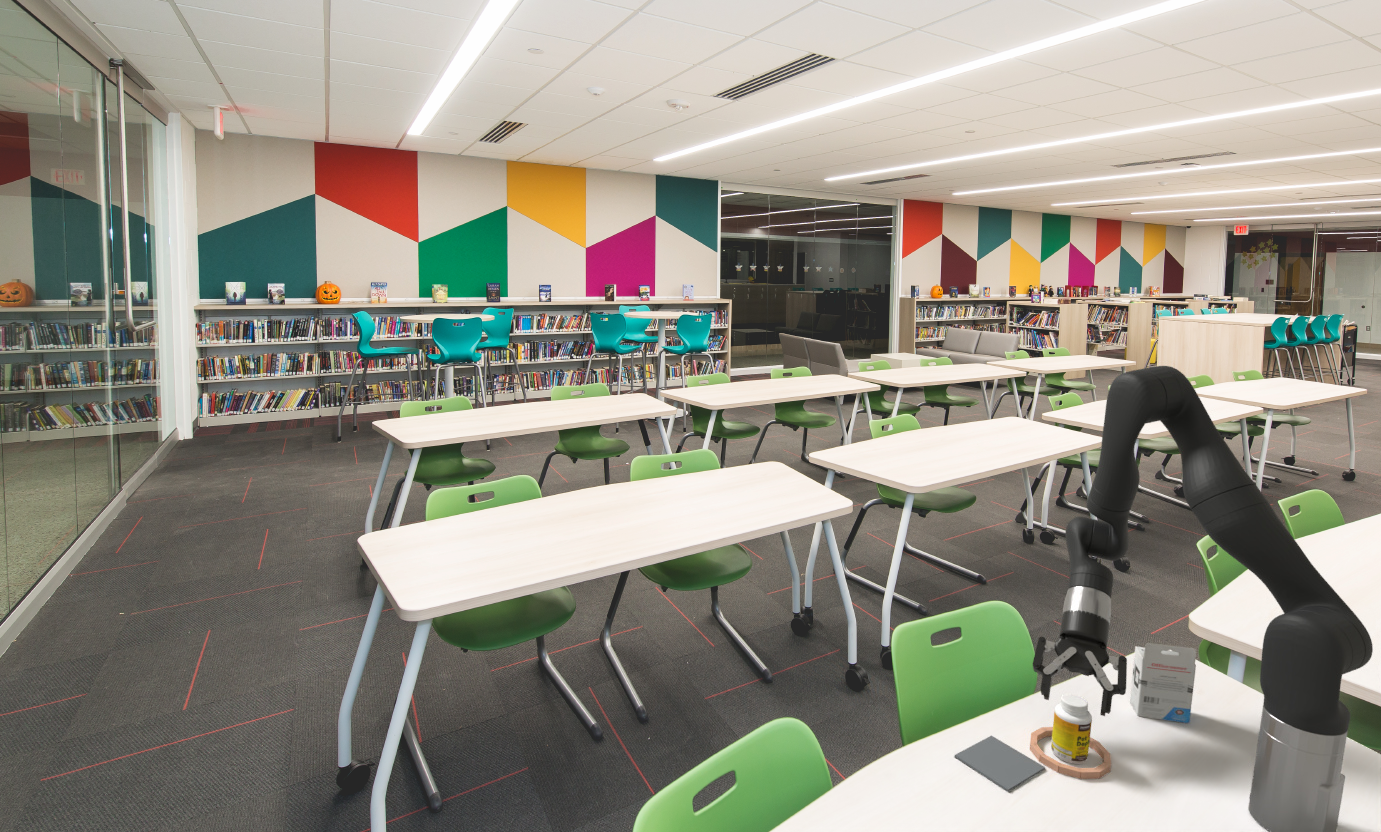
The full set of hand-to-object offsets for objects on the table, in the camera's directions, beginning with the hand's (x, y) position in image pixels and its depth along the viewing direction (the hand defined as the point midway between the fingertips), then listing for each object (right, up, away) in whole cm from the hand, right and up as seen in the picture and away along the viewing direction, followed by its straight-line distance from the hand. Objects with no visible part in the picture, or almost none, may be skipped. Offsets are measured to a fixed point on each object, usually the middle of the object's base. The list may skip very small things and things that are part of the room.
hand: (1074, 706), depth 119 cm
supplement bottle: (-1, -8, 0) cm, 8 cm away
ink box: (+22, -6, +11) cm, 26 cm away
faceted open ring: (-1, -8, 0) cm, 8 cm away
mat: (-14, -8, -3) cm, 16 cm away
